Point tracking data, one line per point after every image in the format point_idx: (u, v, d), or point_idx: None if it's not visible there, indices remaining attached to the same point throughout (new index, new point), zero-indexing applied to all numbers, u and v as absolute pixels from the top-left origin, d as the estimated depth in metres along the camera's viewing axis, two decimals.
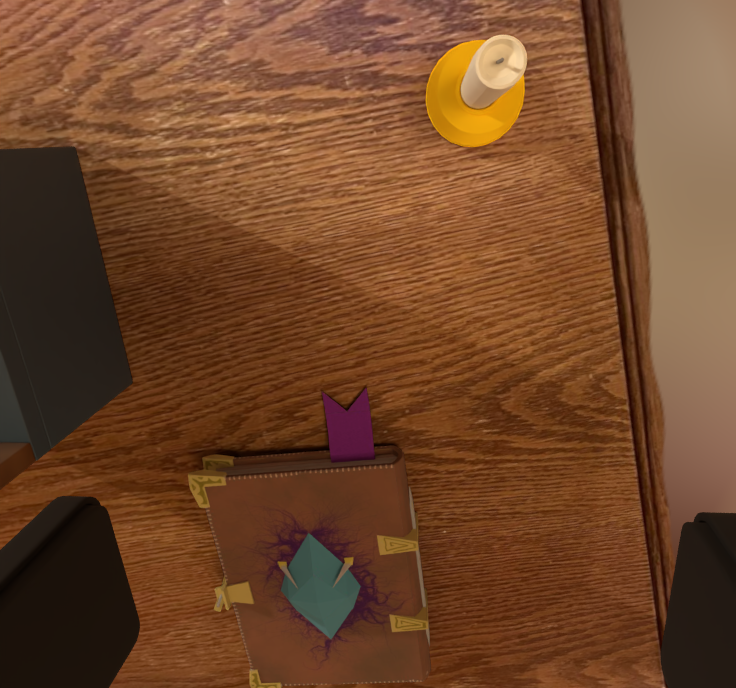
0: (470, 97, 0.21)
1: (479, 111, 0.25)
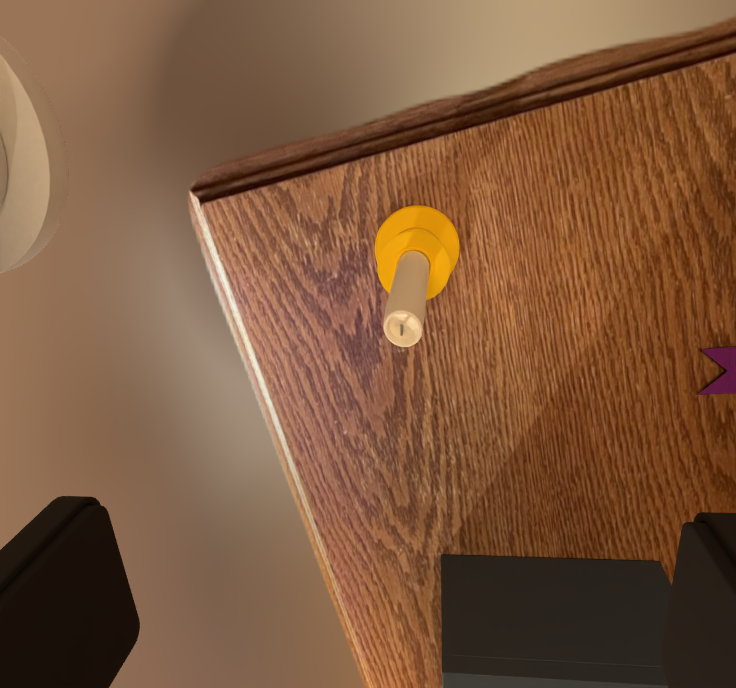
0: None
1: (431, 266, 0.29)
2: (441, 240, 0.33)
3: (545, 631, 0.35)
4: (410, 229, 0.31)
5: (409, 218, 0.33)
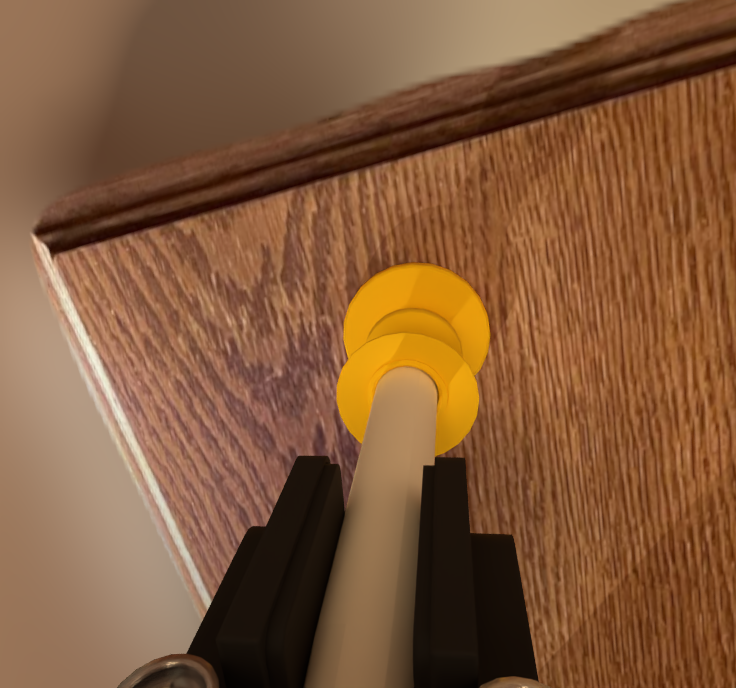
0: None
1: (441, 397, 0.15)
2: (458, 324, 0.19)
3: None
4: (402, 312, 0.17)
5: (402, 286, 0.19)
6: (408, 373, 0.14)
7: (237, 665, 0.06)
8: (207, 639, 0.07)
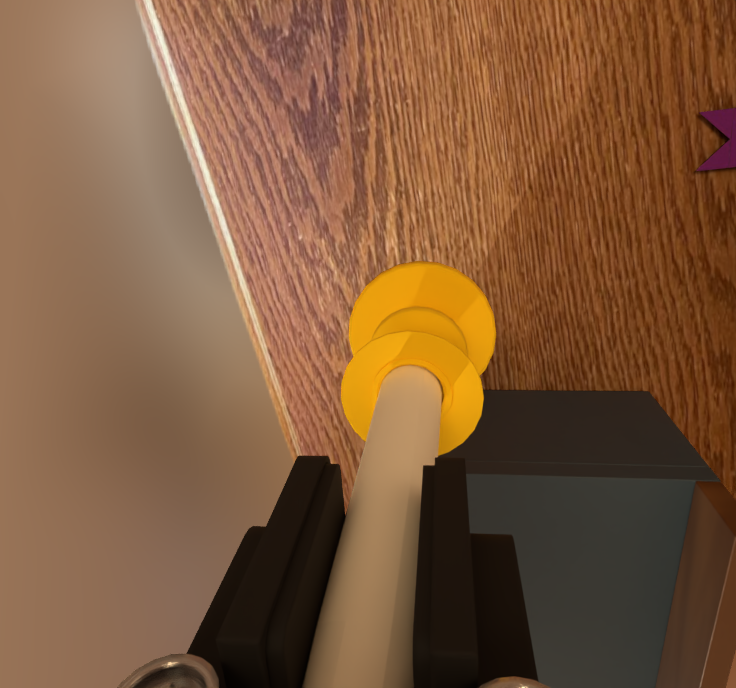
0: None
1: (446, 396, 0.15)
2: (464, 323, 0.19)
3: (517, 441, 0.31)
4: (408, 311, 0.17)
5: (408, 285, 0.18)
6: (412, 372, 0.14)
7: (237, 665, 0.06)
8: (207, 639, 0.07)
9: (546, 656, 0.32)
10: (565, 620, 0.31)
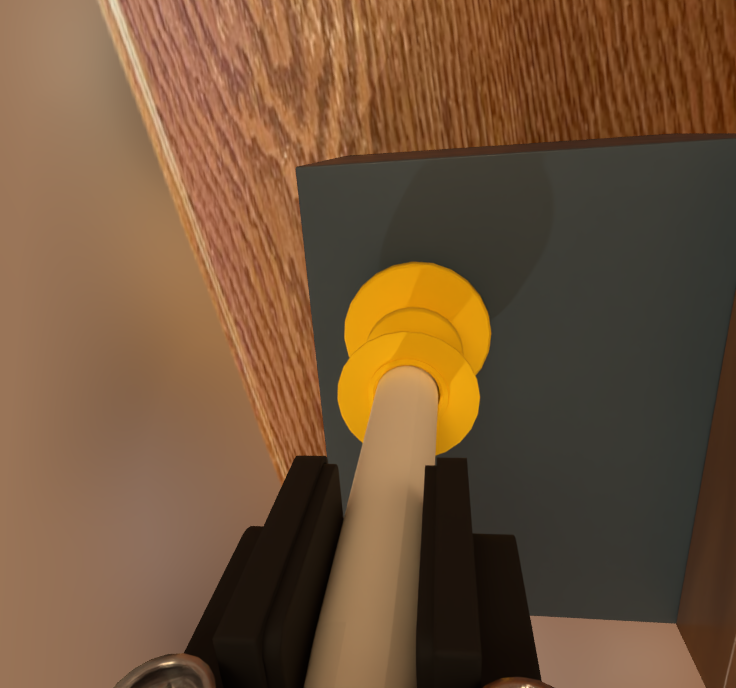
0: None
1: (442, 396, 0.15)
2: (459, 323, 0.19)
3: None
4: (403, 311, 0.17)
5: (403, 285, 0.19)
6: (409, 372, 0.14)
7: (234, 664, 0.06)
8: (205, 638, 0.07)
9: (533, 480, 0.22)
10: (559, 416, 0.21)
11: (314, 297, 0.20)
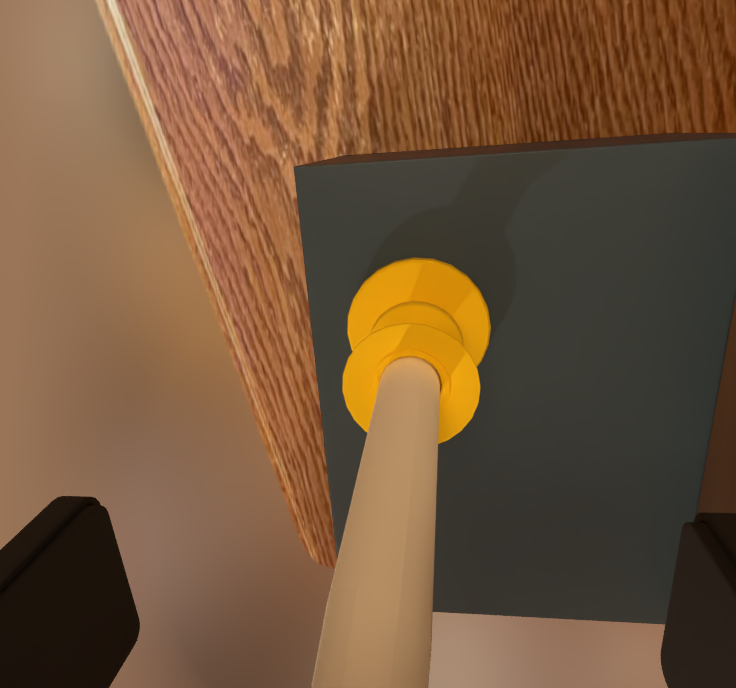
0: None
1: (444, 386, 0.15)
2: (459, 317, 0.19)
3: (483, 150, 0.21)
4: (405, 305, 0.17)
5: (404, 280, 0.19)
6: (411, 363, 0.15)
7: None
8: None
9: (533, 481, 0.22)
10: (559, 417, 0.21)
11: (313, 298, 0.20)
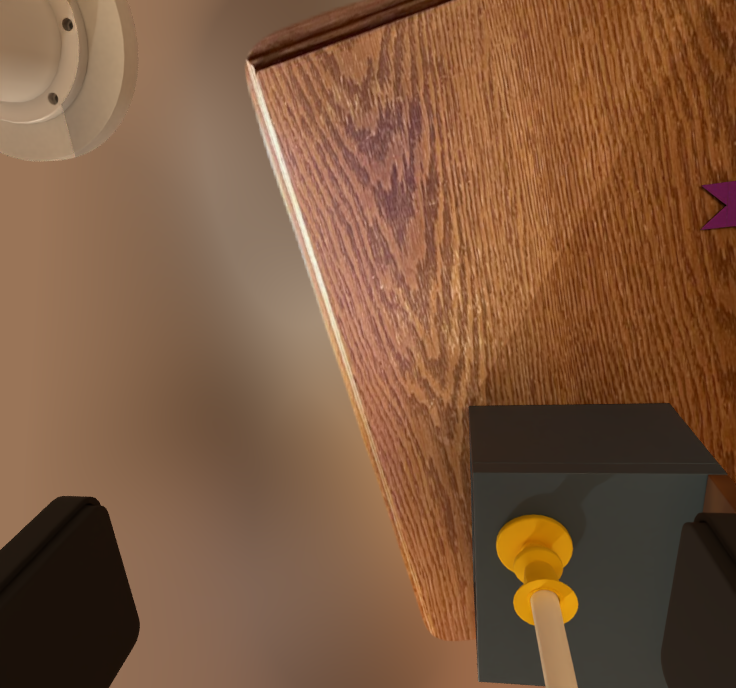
0: None
1: (561, 602, 0.34)
2: (557, 544, 0.38)
3: (565, 446, 0.39)
4: (534, 549, 0.36)
5: (529, 527, 0.37)
6: (547, 594, 0.33)
7: None
8: None
9: (593, 619, 0.40)
10: (608, 588, 0.39)
11: (477, 528, 0.39)
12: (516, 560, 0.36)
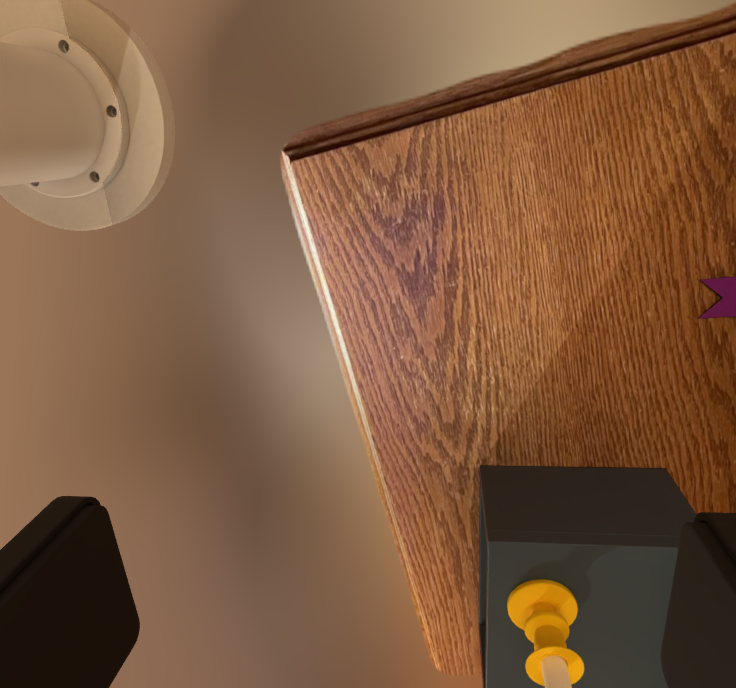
0: None
1: (568, 666, 0.37)
2: (563, 606, 0.41)
3: (571, 514, 0.43)
4: (544, 614, 0.39)
5: (538, 591, 0.41)
6: (556, 660, 0.37)
7: None
8: None
9: (594, 671, 0.44)
10: (608, 645, 0.43)
11: (490, 590, 0.42)
12: (527, 623, 0.40)
